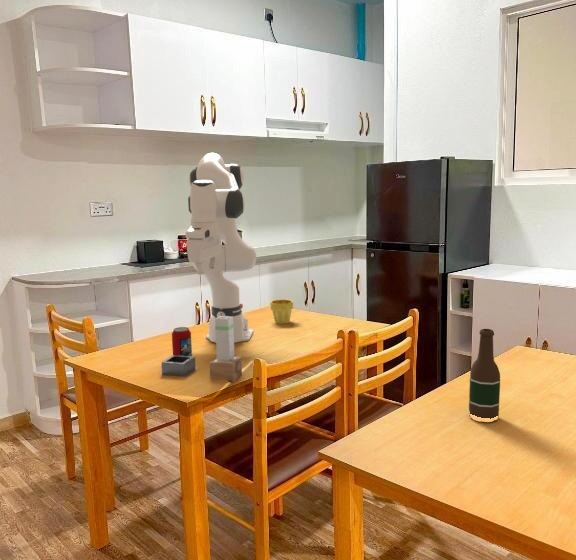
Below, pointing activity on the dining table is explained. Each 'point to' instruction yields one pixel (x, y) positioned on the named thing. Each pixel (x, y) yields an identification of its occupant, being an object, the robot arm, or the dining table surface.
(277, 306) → the plant pot
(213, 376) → the pedestal
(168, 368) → the grey square bin
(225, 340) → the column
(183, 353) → the beverage can
